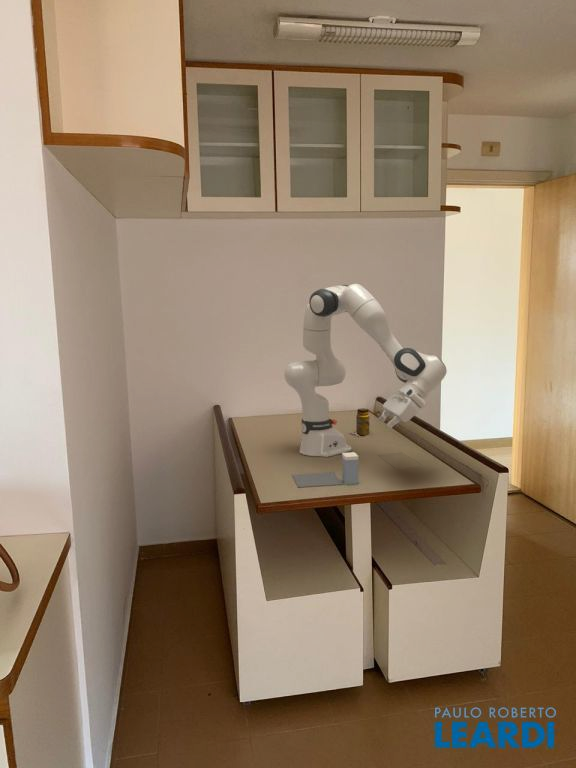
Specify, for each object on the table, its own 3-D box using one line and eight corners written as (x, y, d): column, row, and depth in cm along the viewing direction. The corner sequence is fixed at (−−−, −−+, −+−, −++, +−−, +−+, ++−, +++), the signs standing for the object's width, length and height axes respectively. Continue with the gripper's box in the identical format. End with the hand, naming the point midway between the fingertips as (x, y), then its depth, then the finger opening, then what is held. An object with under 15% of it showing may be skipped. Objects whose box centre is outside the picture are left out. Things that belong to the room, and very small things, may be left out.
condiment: (372, 434, 276) (373, 409, 274) (357, 437, 272) (357, 411, 270) (364, 431, 283) (364, 407, 281) (349, 433, 279) (349, 409, 277)
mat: (334, 472, 220) (334, 471, 220) (343, 484, 206) (343, 483, 206) (291, 475, 217) (291, 474, 217) (298, 487, 204) (298, 486, 204)
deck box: (354, 479, 212) (354, 452, 210) (358, 483, 207) (358, 456, 205) (342, 480, 211) (342, 453, 210) (345, 484, 206) (345, 456, 205)
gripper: (395, 385, 217) (369, 412, 217) (415, 393, 197) (386, 423, 197) (406, 396, 218) (381, 423, 218) (427, 406, 198) (399, 436, 198)
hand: (384, 423), depth 207 cm, fingers open, 8 cm apart
